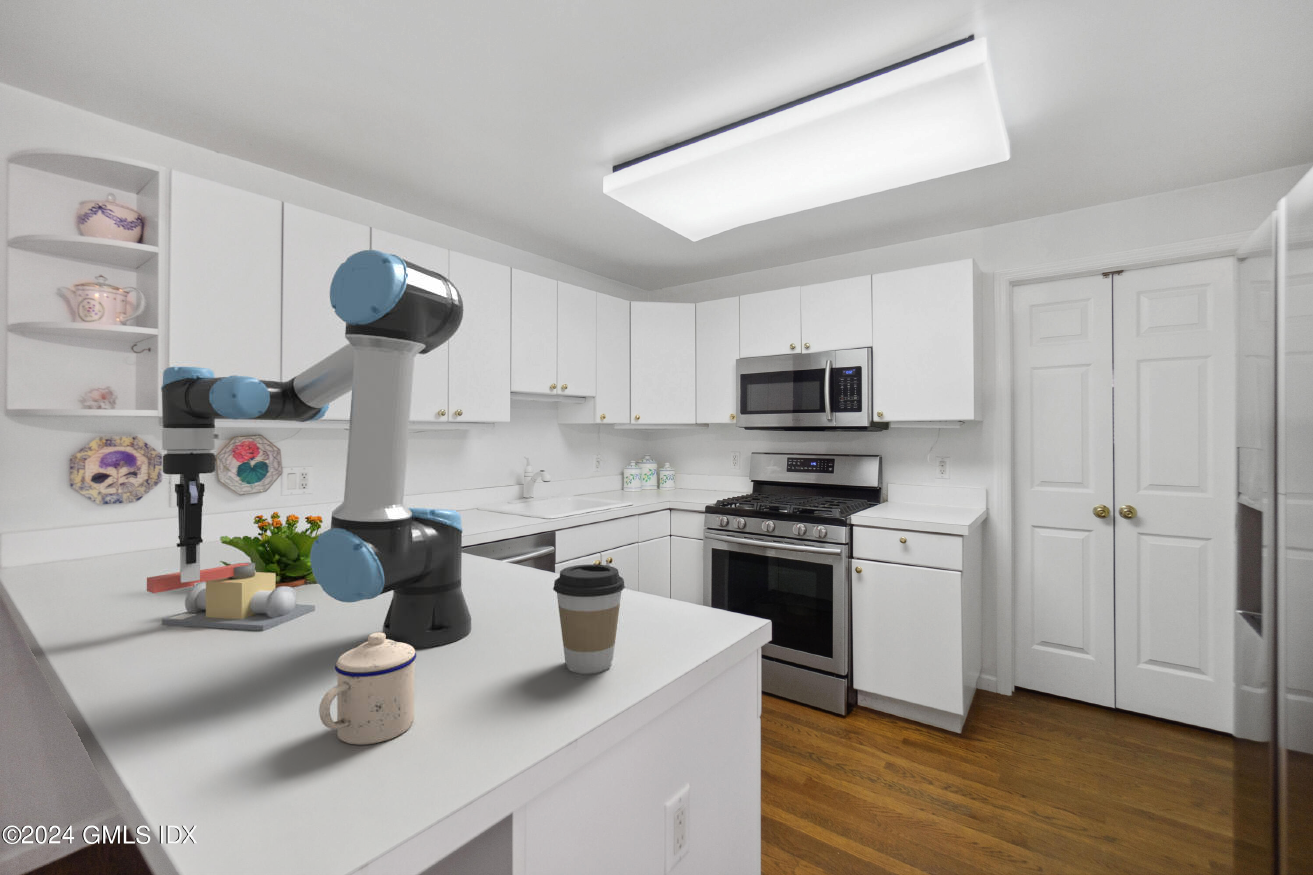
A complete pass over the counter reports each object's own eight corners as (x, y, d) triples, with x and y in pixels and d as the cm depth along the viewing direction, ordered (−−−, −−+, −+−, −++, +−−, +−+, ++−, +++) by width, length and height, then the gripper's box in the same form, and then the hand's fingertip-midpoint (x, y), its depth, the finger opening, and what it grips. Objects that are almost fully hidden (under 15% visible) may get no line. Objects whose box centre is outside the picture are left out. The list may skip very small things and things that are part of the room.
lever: (248, 573, 119) (248, 560, 119) (259, 576, 117) (259, 562, 117) (145, 592, 105) (145, 577, 105) (155, 595, 102) (155, 580, 102)
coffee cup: (635, 656, 96) (635, 565, 96) (607, 684, 85) (607, 582, 85) (573, 648, 100) (573, 560, 100) (539, 673, 89) (539, 575, 89)
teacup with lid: (380, 705, 78) (380, 619, 78) (432, 718, 75) (432, 628, 75) (294, 749, 67) (294, 649, 67) (349, 767, 64) (349, 661, 64)
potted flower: (296, 600, 128) (296, 520, 128) (189, 599, 128) (189, 520, 128) (356, 573, 153) (356, 506, 153) (267, 572, 153) (267, 506, 153)
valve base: (314, 610, 121) (314, 571, 121) (263, 630, 108) (263, 587, 108) (222, 604, 124) (222, 567, 124) (162, 624, 111) (162, 582, 111)
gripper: (220, 452, 105) (221, 583, 105) (209, 451, 114) (210, 571, 114) (166, 453, 99) (167, 591, 99) (159, 451, 109) (160, 578, 109)
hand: (190, 580), depth 107 cm, fingers closed
